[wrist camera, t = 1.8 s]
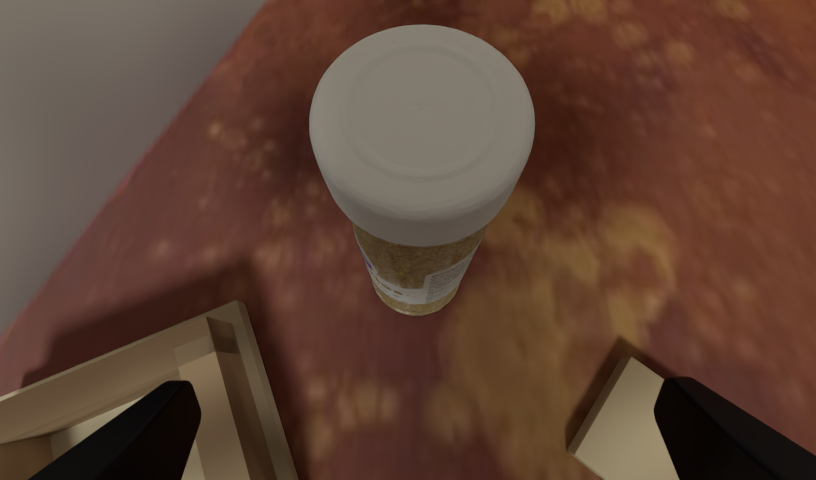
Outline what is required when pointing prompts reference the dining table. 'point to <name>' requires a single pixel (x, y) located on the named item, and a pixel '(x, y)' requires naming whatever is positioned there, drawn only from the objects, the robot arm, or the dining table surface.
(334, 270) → the dining table surface
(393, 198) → the sprinkles bottle
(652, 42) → the dining table surface
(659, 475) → the loose plank
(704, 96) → the dining table surface
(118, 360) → the beige wooden u-shaped tray
